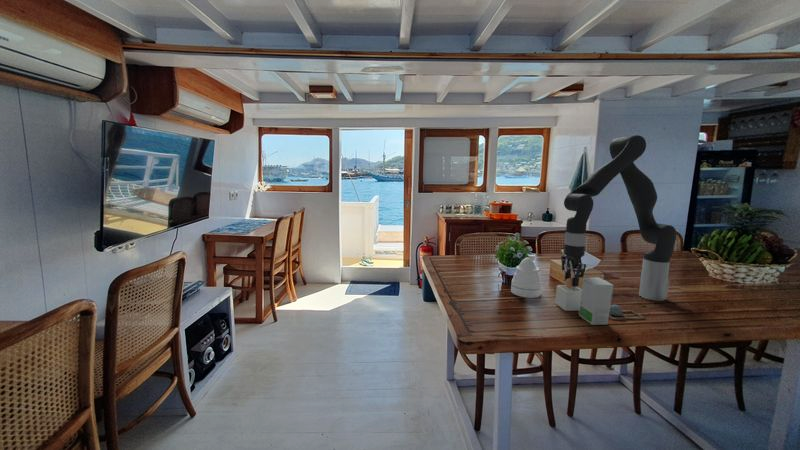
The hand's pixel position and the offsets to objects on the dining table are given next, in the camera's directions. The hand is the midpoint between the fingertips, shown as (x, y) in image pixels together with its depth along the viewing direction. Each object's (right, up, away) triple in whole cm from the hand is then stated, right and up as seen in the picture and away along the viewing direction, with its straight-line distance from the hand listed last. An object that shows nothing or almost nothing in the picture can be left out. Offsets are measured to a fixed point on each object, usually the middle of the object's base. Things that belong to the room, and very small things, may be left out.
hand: (571, 283), depth 133 cm
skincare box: (+3, -12, -11) cm, 16 cm away
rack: (+16, -11, -7) cm, 21 cm away
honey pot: (-12, -7, +18) cm, 23 cm away
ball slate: (+13, -11, -7) cm, 19 cm away
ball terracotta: (0, -2, 0) cm, 2 cm away
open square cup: (0, -10, +1) cm, 10 cm away
